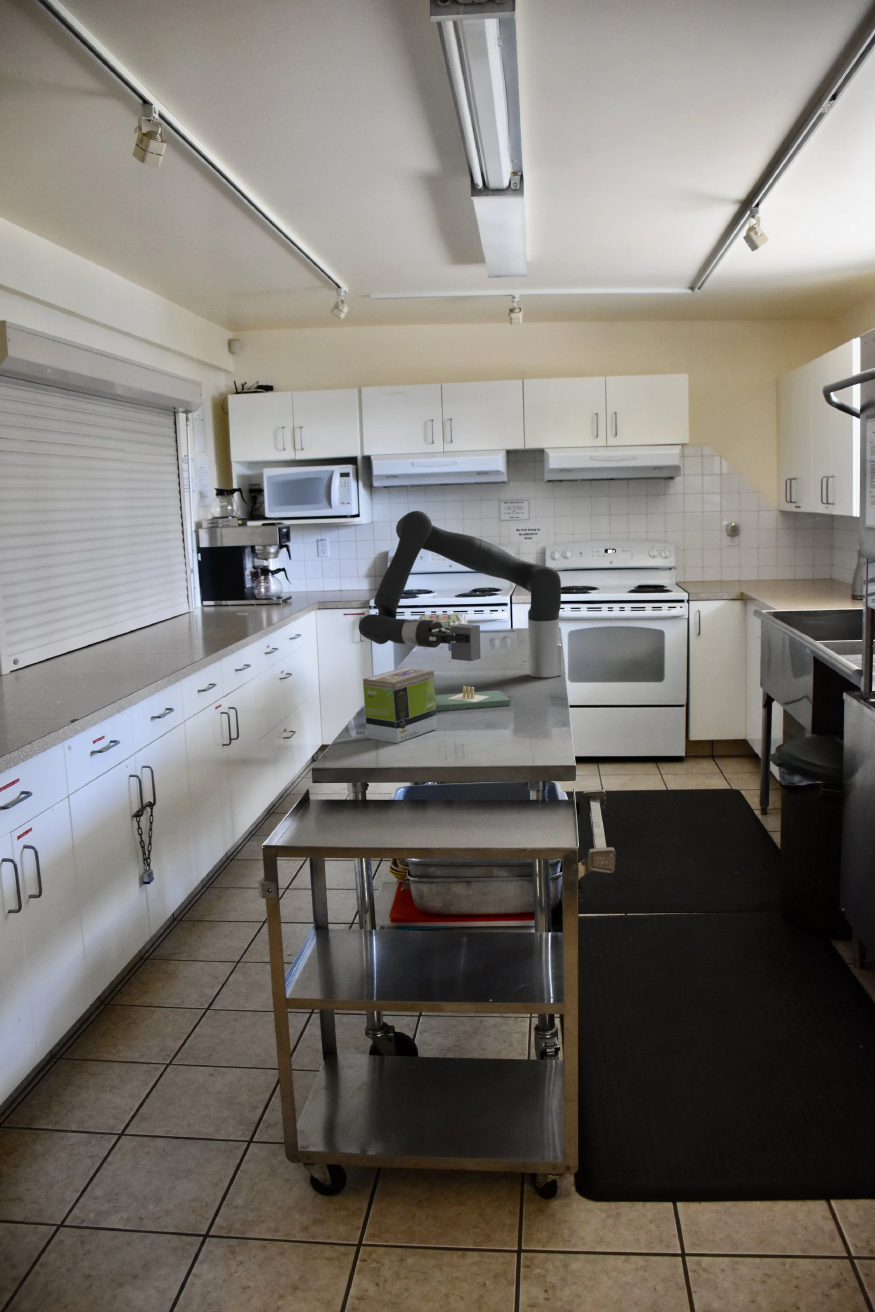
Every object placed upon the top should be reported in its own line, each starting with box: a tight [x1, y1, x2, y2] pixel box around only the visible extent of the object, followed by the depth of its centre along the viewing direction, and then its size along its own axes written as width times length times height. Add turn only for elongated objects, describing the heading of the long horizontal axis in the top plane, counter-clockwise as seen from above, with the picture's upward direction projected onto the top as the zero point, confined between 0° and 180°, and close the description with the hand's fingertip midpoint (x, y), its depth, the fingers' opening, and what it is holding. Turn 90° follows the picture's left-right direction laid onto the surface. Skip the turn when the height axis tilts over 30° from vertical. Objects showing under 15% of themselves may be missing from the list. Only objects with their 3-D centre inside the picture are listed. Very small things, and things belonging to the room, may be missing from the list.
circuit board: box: [435, 685, 511, 712], centre depth 253 cm, size 20×12×4 cm, turn 100°
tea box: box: [362, 667, 438, 744], centre depth 224 cm, size 15×10×15 cm
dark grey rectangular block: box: [450, 623, 482, 662], centre depth 252 cm, size 6×4×9 cm
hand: (474, 637), depth 250 cm, fingers closed on dark grey rectangular block, 4 cm apart
